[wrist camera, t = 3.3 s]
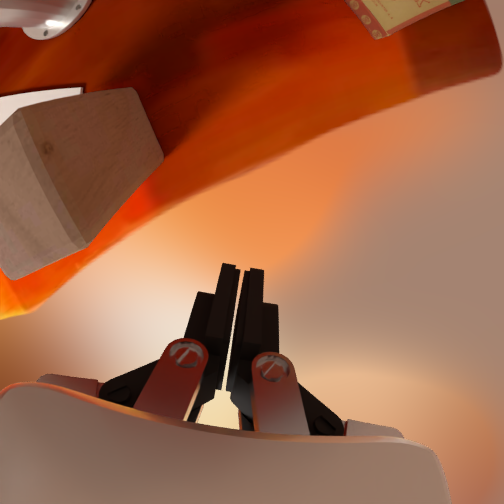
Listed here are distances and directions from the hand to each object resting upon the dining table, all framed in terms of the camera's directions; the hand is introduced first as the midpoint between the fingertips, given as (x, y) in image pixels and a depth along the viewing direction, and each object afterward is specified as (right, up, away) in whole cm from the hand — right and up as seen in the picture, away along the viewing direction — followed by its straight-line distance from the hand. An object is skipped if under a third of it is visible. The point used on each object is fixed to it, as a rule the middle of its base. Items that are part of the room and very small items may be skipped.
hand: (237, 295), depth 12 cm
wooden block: (-15, +15, +19) cm, 29 cm away
